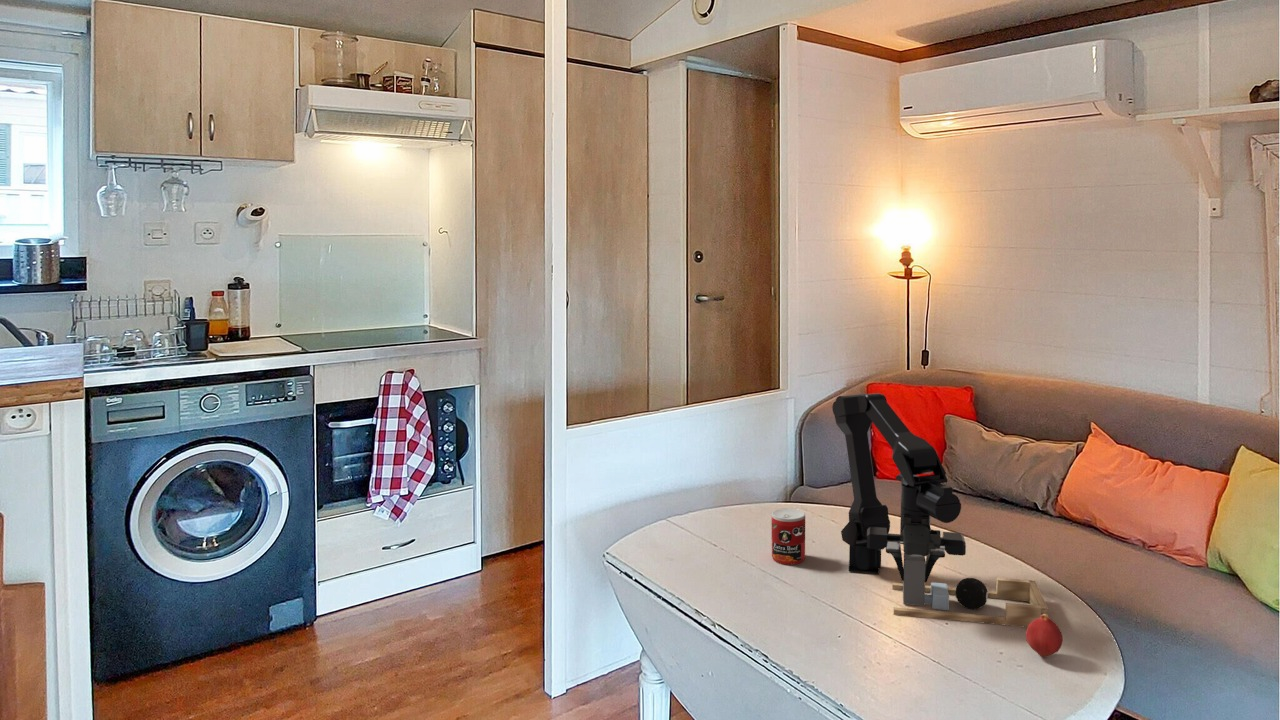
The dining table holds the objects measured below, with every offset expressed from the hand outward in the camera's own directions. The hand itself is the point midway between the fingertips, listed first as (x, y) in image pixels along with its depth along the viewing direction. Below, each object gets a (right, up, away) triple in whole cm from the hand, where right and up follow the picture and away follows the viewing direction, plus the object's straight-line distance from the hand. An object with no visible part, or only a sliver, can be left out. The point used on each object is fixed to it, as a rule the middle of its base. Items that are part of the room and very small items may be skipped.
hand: (913, 581), depth 168 cm
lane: (+6, -5, -1) cm, 8 cm away
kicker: (+2, -4, 0) cm, 5 cm away
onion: (+15, -8, -22) cm, 28 cm away
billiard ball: (+11, -5, -2) cm, 12 cm away
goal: (+19, -5, -5) cm, 20 cm away
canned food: (-21, -2, +25) cm, 33 cm away
